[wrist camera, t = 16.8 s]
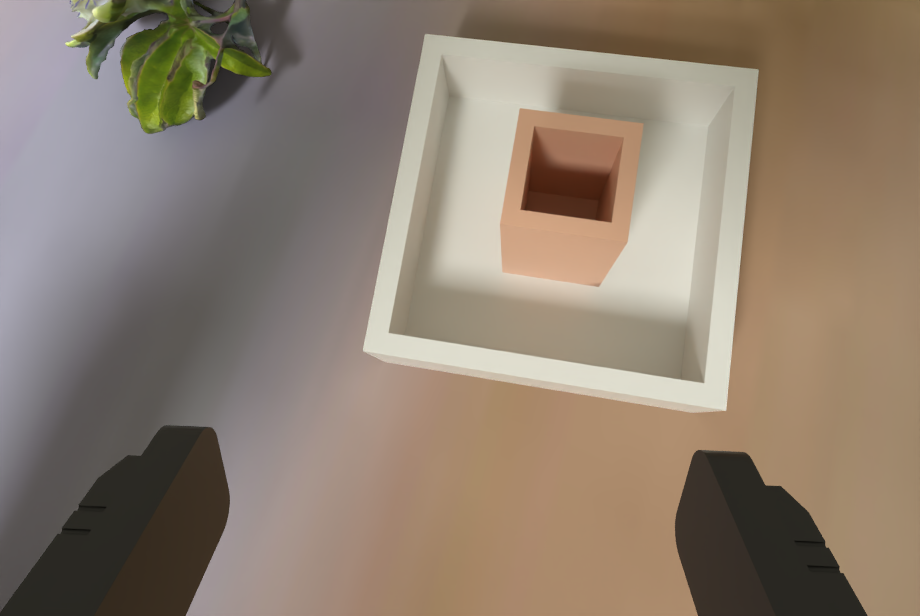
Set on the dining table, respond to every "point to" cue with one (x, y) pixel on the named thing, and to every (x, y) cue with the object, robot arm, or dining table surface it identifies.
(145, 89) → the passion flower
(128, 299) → the dining table surface
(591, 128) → the tub
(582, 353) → the tray
